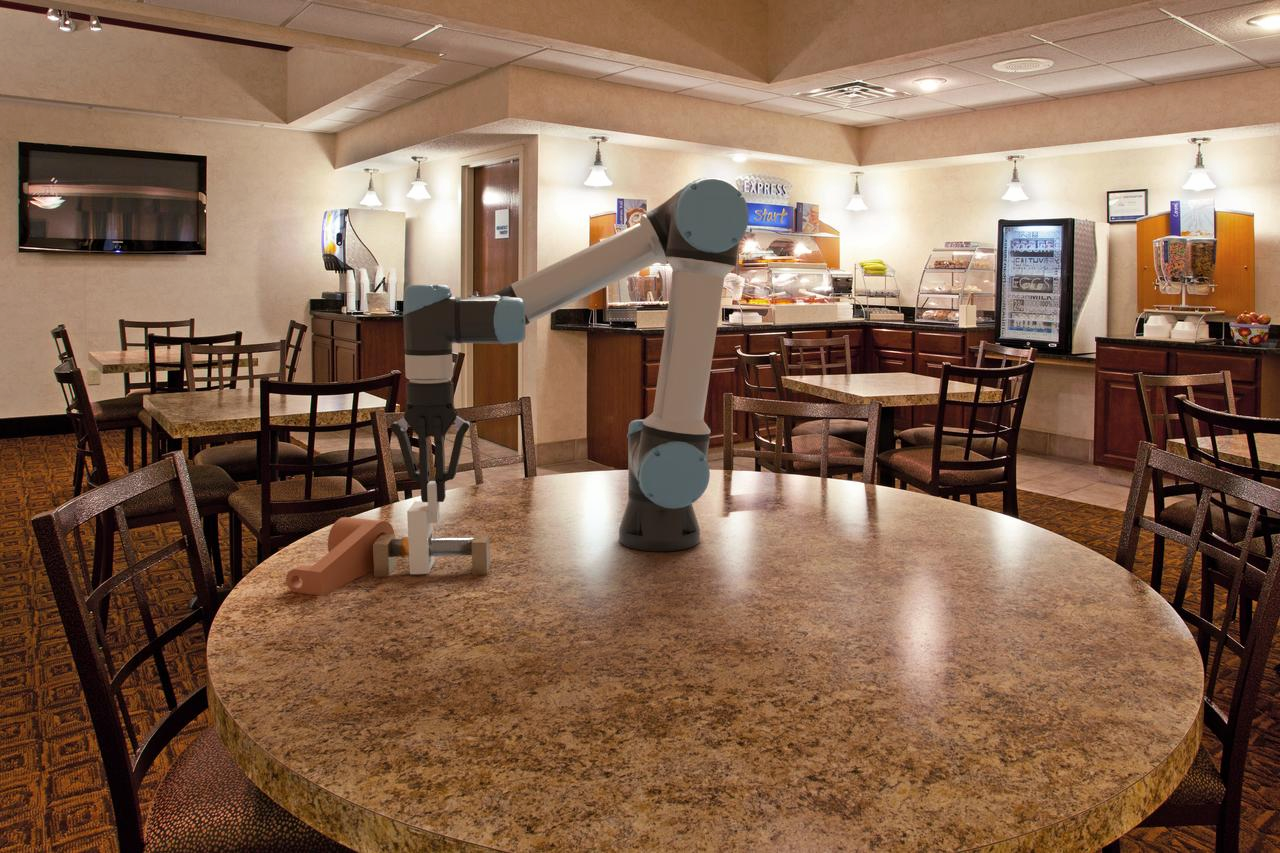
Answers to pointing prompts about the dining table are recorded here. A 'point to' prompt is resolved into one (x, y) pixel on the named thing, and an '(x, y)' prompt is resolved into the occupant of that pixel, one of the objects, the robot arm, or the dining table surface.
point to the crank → (341, 557)
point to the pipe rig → (432, 551)
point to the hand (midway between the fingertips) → (434, 520)
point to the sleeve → (419, 538)
